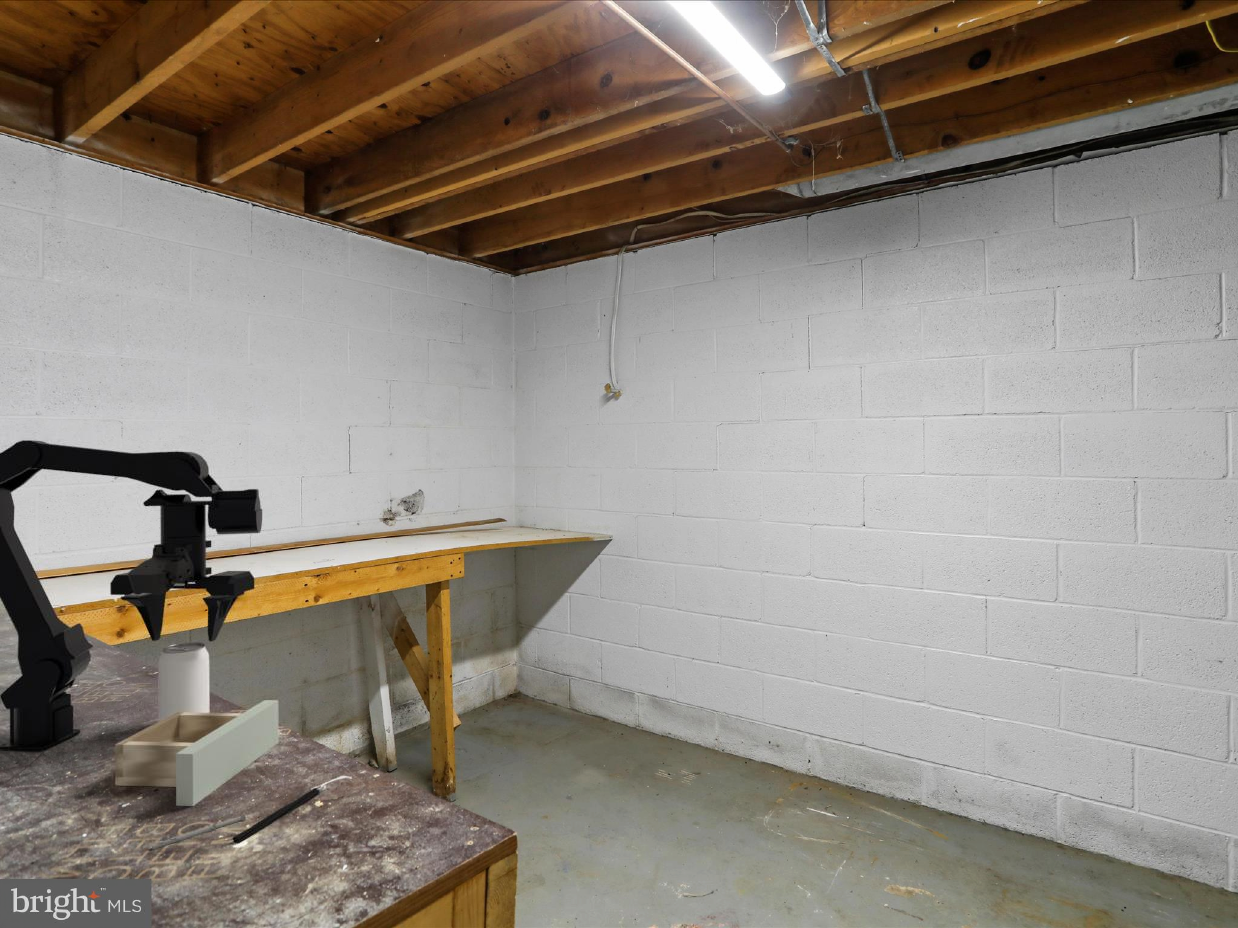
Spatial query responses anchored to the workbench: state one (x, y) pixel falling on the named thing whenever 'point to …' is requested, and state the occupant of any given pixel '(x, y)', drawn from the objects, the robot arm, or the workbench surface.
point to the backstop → (225, 752)
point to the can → (183, 679)
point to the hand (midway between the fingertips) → (184, 640)
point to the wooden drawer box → (162, 748)
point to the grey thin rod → (197, 832)
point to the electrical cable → (276, 815)
